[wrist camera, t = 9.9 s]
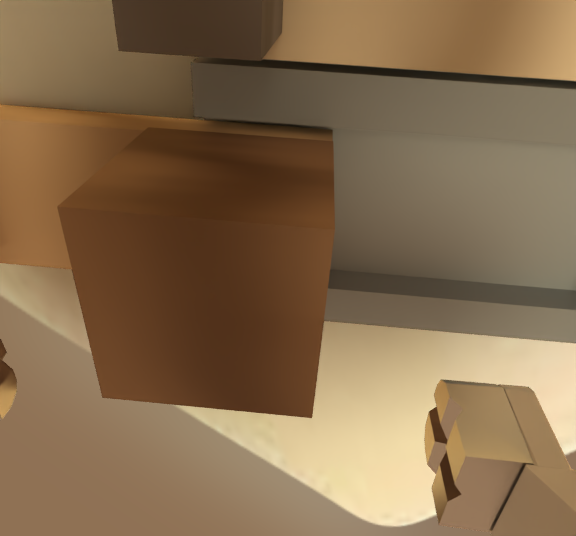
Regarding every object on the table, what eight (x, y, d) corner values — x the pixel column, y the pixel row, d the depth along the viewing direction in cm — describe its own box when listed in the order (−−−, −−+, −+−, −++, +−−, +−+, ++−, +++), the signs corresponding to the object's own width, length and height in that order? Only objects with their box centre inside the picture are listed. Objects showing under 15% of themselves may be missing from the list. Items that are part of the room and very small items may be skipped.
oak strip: (-39, 236, 17) (-176, 336, 12) (-91, 97, 14) (-291, 159, 10) (318, 267, 16) (313, 383, 12) (332, 129, 14) (333, 210, 9)
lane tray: (216, 278, 18) (199, 324, 16) (195, -290, 10) (154, -368, 8) (579, 310, 18) (616, 362, 15) (864, -262, 10) (1034, -335, 7)
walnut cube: (165, 279, 15) (102, 397, 11) (148, 127, 13) (56, 206, 8) (316, 292, 15) (311, 417, 11) (333, 141, 12) (334, 229, 8)
